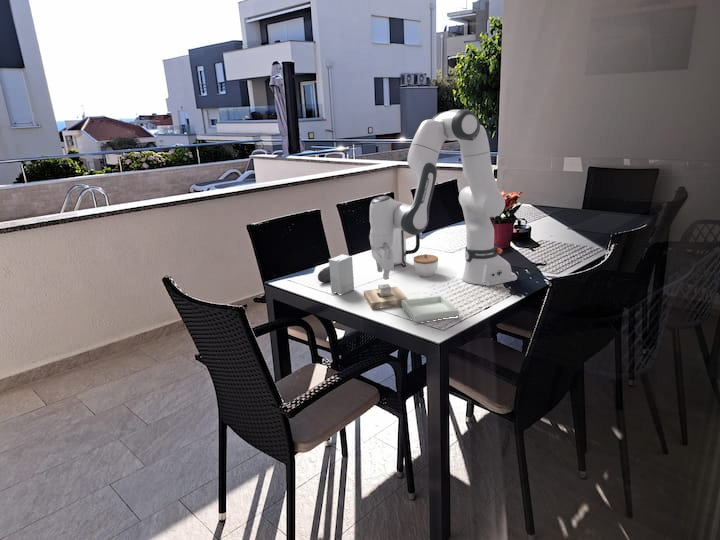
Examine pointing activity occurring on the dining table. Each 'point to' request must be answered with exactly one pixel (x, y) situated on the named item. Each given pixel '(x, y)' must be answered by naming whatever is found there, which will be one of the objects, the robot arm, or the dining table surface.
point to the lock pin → (384, 290)
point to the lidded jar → (426, 265)
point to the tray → (429, 308)
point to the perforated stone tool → (324, 275)
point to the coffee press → (402, 247)
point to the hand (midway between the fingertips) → (382, 275)
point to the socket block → (384, 298)
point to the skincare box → (341, 274)
